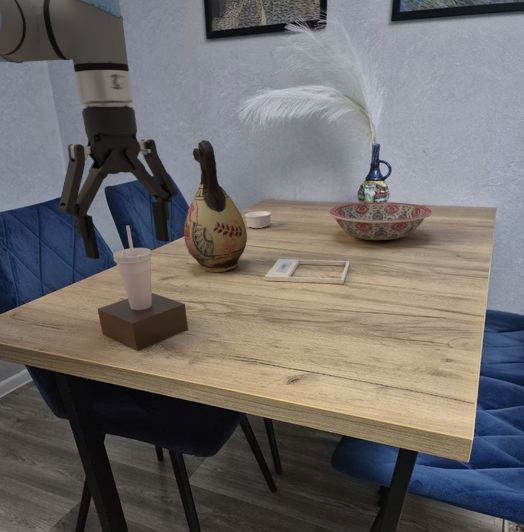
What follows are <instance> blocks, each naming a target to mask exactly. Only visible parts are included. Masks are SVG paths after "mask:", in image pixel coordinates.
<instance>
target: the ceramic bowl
mask: <svg viewBox="0 0 524 532" xmlns="http://www.w3.org/2000/svg"><path fill="white" fill-rule="evenodd" d="M432 213H433V212H432V209H430V208H429V207H426V206H423V205H420V204H415V203H414V204H412V203H406V202H405V203H404V202H395V201H394V202H393V201H392V202H391V201H372V202H371V201H370V202H369V201H368V202H357V203H348V204H342V205H338V206H335V207H332V208H331V209H329V211H328V214H329V216H330V217H332V218H334V219H335V221H336V222H337V225H338V226H339V227H340V228H341V230H343V231H344V232H345V233H346V234H348V235H349V236H352V237H355V238H358V239H361V240H367V241H368V240H369V241H387V240H388V241H389V240H396V239H400V238H404V237H406V236H408V235H410V234H411V233H412V232H414V231H416V229H418V227H420V225H421V224H422V223H423V221H424V220H425V219H428V218H429V217H430V216H431V215H432Z"/></svg>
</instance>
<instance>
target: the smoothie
mask: <svg viewBox="0 0 524 532" xmlns="http://www.w3.org/2000/svg"><path fill="white" fill-rule="evenodd" d="M125 227H126V234H127V235H126V236H127V239H128V245H129V248H124V249H121V250H118V251H115V252H114V253H113V254H112V255H113V261H114V263H116V266H117V269H118V272H119V275H120V278H121V282H122V285H123V287H124V291H125V294H126V296H127V299H128V301H129V304H130V307H131V309H133V310H143V309H147V308H150V307H151V306H152V293H153V291H152V258H153V252H152V250H151V249H150V248H146V247H134V244H133V239H132V233H131V228H130V227H131V225H125Z"/></svg>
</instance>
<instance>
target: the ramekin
mask: <svg viewBox="0 0 524 532" xmlns="http://www.w3.org/2000/svg"><path fill="white" fill-rule="evenodd" d="M271 216H272V213H271V211H264V210H263V211H250V212H247V213H245V214H244V217H245V222H246V226H248V227H254V228H259V227H266V226H269V225H270V226H271ZM270 226H269V227H270ZM248 227H247V228H248ZM266 228H267V227H266Z"/></svg>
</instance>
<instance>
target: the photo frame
mask: <svg viewBox="0 0 524 532" xmlns="http://www.w3.org/2000/svg"><path fill="white" fill-rule="evenodd" d="M350 262H351V261H349V260H328V259H327V260H321V259H294V258H293V259H291V258H290V259H289V258H288V259H287V258H278V260H276V262H275V263H274V265H273V266H272V267H271V268H270V270H268V272H267V273H266V274H265V275H264V281H267V282H268V281H269V282H270V281H271V282H291V283H293V282H294V283H318V284H338V285H339V284H341V285H343V284H345V280H346V277H347V274H348V271H349V268H350ZM299 265H317V266H319V265H320V266H321V265H323V266H344V268H343V271H342V274H341V277H340V278H335V277H334V278H332V277H310V276H309V277H308V276H293V274H294V273H295V271H296V269H297V267H298V266H299Z"/></svg>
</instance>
